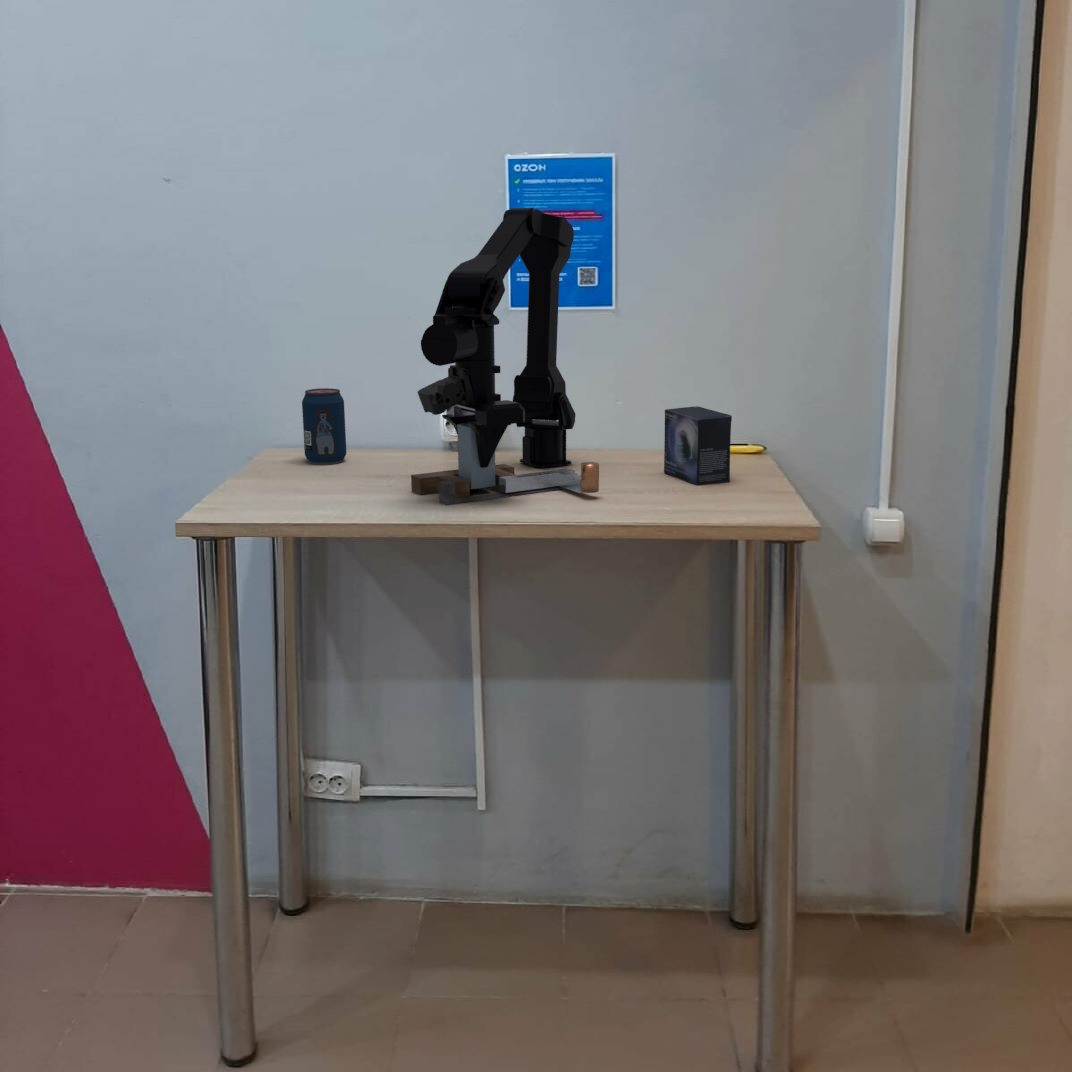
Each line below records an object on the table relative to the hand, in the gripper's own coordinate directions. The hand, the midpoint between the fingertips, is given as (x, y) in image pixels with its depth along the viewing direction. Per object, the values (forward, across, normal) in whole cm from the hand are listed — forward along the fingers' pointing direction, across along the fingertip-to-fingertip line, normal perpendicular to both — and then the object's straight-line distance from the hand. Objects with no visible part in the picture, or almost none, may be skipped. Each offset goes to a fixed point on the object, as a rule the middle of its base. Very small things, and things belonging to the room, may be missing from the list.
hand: (476, 464), depth 173 cm
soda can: (+4, -35, -10) cm, 37 cm away
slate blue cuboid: (+3, 0, 0) cm, 3 cm away
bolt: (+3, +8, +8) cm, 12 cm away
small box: (+4, +9, +34) cm, 35 cm away
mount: (+4, 0, +3) cm, 5 cm away
